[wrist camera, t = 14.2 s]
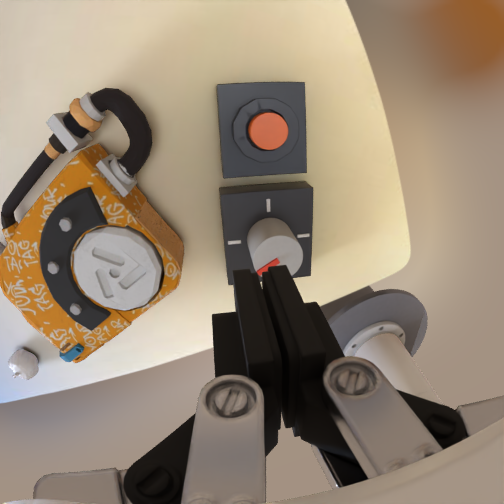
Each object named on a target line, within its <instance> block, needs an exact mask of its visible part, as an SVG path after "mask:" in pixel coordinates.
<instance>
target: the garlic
mask: <svg viewBox="0 0 504 504" xmlns="http://www.w3.org/2000/svg"><path fill="white" fill-rule="evenodd" d="M8 364H9V367H10V368H11V369H12V370H13V372H14V373H15V375H13V378H15V377H16V376H19V377H21V378H23V379H26V380H29V379H30V378H32V377H34V376H35V375H36V374H37V373H38V360H37V358H36V356H35V355H34V354H32V353H30V352H28V351H26V350H22V349H21V350H18V351H16V352H15V353H14V354H13V355H12V356H11V357H10V358H9V361H8Z"/></svg>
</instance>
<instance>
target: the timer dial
mask: <svg viewBox="0 0 504 504" xmlns="http://www.w3.org/2000/svg"><path fill="white" fill-rule="evenodd" d="M247 244H248V247H249V251H250V254H251V258H252V262H253V265H254V268H255V270H256V272H257V273H258V275H259V276H261V277H262V272H266V271H268V267H270V266H279V265H286V266H287V267H288V270H289V272H290V274H291V276H292V275H294V274H295V273H296V272H297V271H298V269H299V268H300V266H301V264H302V260H303V251H302V248H301V246H300V244H299V243H298V241H297V239H296V238H295V236H294V235H293V233H292V231H291V230H290V228H289V227H288V225H287V224H286V223H285V222H283V221H282V220H280V219H277V218H265V219H262V220H260V221H258V222H257V223H255V224H254V225H253V226H252V227H251V229H250V231H249V233H248V236H247Z"/></svg>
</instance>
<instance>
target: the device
mask: <svg viewBox="0 0 504 504" xmlns="http://www.w3.org/2000/svg"><path fill="white" fill-rule="evenodd" d="M107 109H108V110H110V111H112V112H113V113H114V114H115V115H116V116H117V117H118V118H119V120H120V121H121V123H122V124H123V126H124V127H125V129H126V131H127V133H128V136H129V139H130V146H129V148H128V150H127V152H126V153H125V154H124V156H123V157H122V158H120V157H115V156H114V154H113V153H112V154H111V155H108V154H107V153H106V151H105V150H104V149H103V148H102V147H101V146H100V144H99V143H98V144H96V145H93V146H91V147H88V148H86V149H84V150H81V151H80V152H79V153H78V154H77V155H76V156H75V157H74V158H73V159H72V160H71V161H70V162H69V163H68V164H67V165H66V166H65V167H64V169H63V170H62V171H61V172H60V173H59V174H58V175H57V177H56V178H55V179H54V180H53V181H52V183H51V184H50V185H49V186H48V187H47V189H46V190H45V191H44V192H43V193H42V195H41V196H40V197H39V198H38V200H37V201H36V202H35V203H34V205H33V206H32V207H31V208H30V210H29V211H28V212H27V214H26V215H25V216H24V218H23V219H22V220H21V222H20V223H19V224H18V222H17V221H16V220H15V218H14V211H15V209H16V208H17V206H18V205H19V204H20V202H21V201H22V200H23V198H24V197H25V196H26V194H27V193H28V192H29V190H30V189H31V188H32V186H33V185H34V184H35V183H36V181H37V180H38V179H39V178H40V176H41V175H42V174H43V173H44V171H45V170H46V169H47V168H48V167H49V165H50V164H51V163H52V162H53V161H54V160H55V159H56V158H57V157H58V156H59V155H60V154H61V153H62V154H64V153H65V152H66V151H67V150H68V151H69V152H70V153H71V152H73V151H76V150H78V149H81V148H84V147H86V146H87V145H88V143H89V142H90V141H91V140H92V137H91V136H90V135H89V134H88V133H89V132H90V131H91V132H95V131H96V130H97V129H98V128H100V126H101V123H102V119H103V118H104V117H105V116H106V114H105V111H106V110H107ZM46 124H47V125H48V126H49V127H50V129H51V130H52V131H53V135H52V136H51V137H50V138H49V143H48V145H47V146H46V147H45V149H44V150H43V151H42V153H41V154H40V155H39V156H38V157H37V159H36V160H35V161H34V162H33V164H32V165H31V166H30V168H29V169H28V170H27V172H26V173H25V174H24V175H23V177H22V178H21V180H20V181H19V182H18V184H17V185H16V186H15V188H14V189H13V191H12V192H11V193H10V195H9V196H8V198H7V199H6V201H5V202H4V204H3V207H2V212H1V222H2V226H3V229H2V231H3V234H4V236H5V239H6V242H7V244H8V245H7V246H6V247H5V246H4V245H3V244H2V243H1V242H0V286H1V288H2V291H3V293H4V295H5V296H6V297H7V298H8V299H9V300H10V301H11V302H12V303H13V304H14V305H15V306H16V307H17V308H18V309H19V310H20V311H21V313H22V314H23V316H24V317H25V319H26V320H27V322H28V323H30V324H31V325H32V326H33V327H34V328H35V329H36V330H37V331H38V332H39V333H41V334H42V335H43V336H44V337H45V338H46V339H47V340H48V341H50V342H51V343H52V344H53V345H54V346H56V347H57V348H59V349H60V357H61V358H62V359H63V360H65V361H66V362H71V361H73V362H75V363H78V362H80V361H82V360H84V359H85V358H87V357H88V356H89V355H90V354H91V353H93V352H94V351H96V350H97V349H98V348H100V347H101V346H103V345H104V343H106V342H108V341H110V340H111V339H112V338H114V337H115V336H116V335H118V334H119V333H120V332H122V331H123V330H124V329H126V328H127V327H128V326H130V325H131V323H132V321H133V320H135V319H136V318H137V317H139V316H140V315H141V314H143V313H144V312H145V311H147V310H148V309H149V308H151V307H152V306H153V305H155V304H156V303H157V302H159V301H160V300H162V299H163V298H164V297H165V296H167V295H168V294H169V293H171V292H172V291H173V290H175V289H176V288H177V286H178V285H179V282H180V278H181V271H182V263H183V256H184V246H183V243H182V241H181V240H180V238H179V237H178V235H177V234H176V233H175V232H174V231H173V230H172V229H171V228H170V227H169V226H168V225H167V224H166V223H165V221H164V220H163V219H162V218H161V217H160V216H159V215H158V214H157V212H156V211H155V210H154V209H153V208H152V207H151V206H150V204H149V203H148V202H147V201H146V200H147V198H146V197H145V196H144V195H143V193H142V192H141V191H140V190H139V189H138V188H137V187H136V186H135V185H136V184H137V181H136V177H135V174H136V173H137V172H138V171H139V170H140V169H141V167H142V166H143V165H144V163H145V162H146V160H147V158H148V156H149V154H150V150H151V146H152V134H151V129H150V126H149V124H148V122H147V119H146V117H145V115H144V113H143V112H142V111H141V110H140V108H139V107H138V106H137V104H136V103H135V102H134V101H133V99H132V98H131V97H130V96H128V95H127V94H125V93H124V92H122V91H121V90H119V89H113V88H105V89H102V90H100V91H98V92H96V93H94V94H91V93H89V92H88V93H87V94H85V95H84V96H83V97H82V98H81V99H79V98H76V99H74V100H73V101H72V103H71V104H70V111H69V112H65V113H57V114H53V115H52V116H51V117H50V118H49V120H48V121H47V122H46Z"/></svg>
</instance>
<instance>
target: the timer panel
mask: <svg viewBox="0 0 504 504" xmlns="http://www.w3.org/2000/svg"><path fill="white" fill-rule="evenodd" d="M219 192H220V203H221V215H222V226H223V237H224V247H225V258H226V268H227V277H228V285H233V275H232V270H241V269H250V271H251V273H257V272H256V270H255V268H254V265H253V262H252V258H251V254H250V251H249V247H248V244H247V236H248V233H249V231H250V229H251V227H252V226H253V225H254V224H255V223H257V222H258V221H260V220H262V219H265V218H277V219H280V220H282V221H283V222H285V223H286V224H287V225H288V227H289V228H290V230H291V231H292V233H293V235H294V236H295V238H296V239H297V241H298V243H299V244H300V246H301V248H302V251H303V260H302V264H301V266H300V268H299V269H298V271H297V272H296V273H295V274H294V275H292V278H297V277H305V276H311V255H312V224H313V187H311V186H310V185H309V184H308V183H307V182H305V181H304V182H287V183H272V184H258V185H245V186H234V187H223V188H219ZM257 274H258V273H257ZM258 277H259V280H260V282H262V277H261V276H259V275H258Z"/></svg>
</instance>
